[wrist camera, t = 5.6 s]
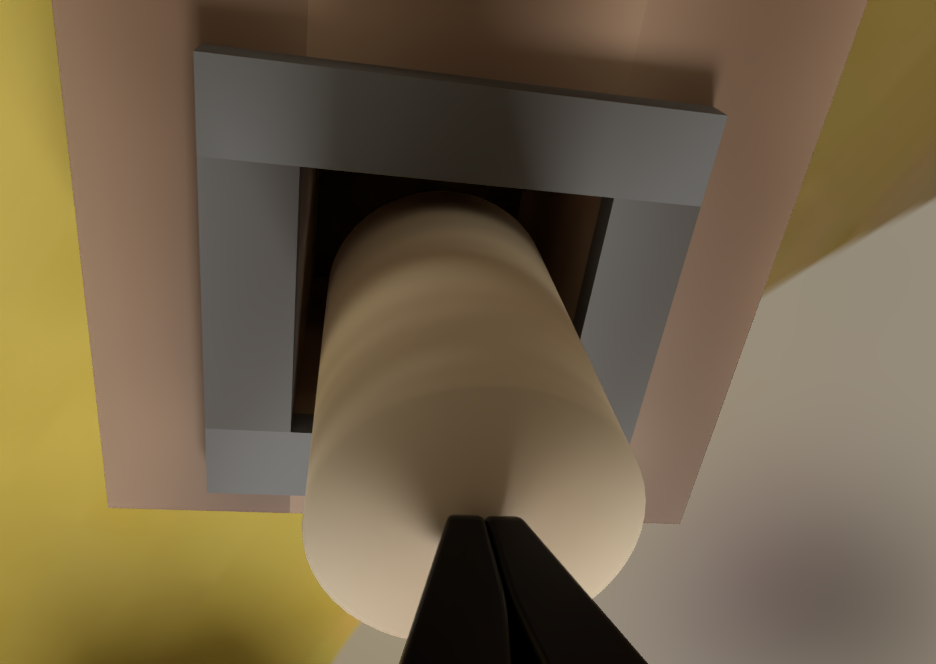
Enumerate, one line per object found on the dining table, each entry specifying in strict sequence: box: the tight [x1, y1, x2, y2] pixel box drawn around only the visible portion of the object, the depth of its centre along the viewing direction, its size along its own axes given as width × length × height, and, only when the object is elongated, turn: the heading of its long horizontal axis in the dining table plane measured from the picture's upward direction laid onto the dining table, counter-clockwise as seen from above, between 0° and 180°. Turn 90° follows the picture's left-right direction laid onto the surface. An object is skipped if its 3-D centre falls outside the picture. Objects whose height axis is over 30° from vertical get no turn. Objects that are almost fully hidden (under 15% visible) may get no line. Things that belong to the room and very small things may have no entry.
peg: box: [302, 191, 646, 639], centre depth 12 cm, size 4×4×6 cm
